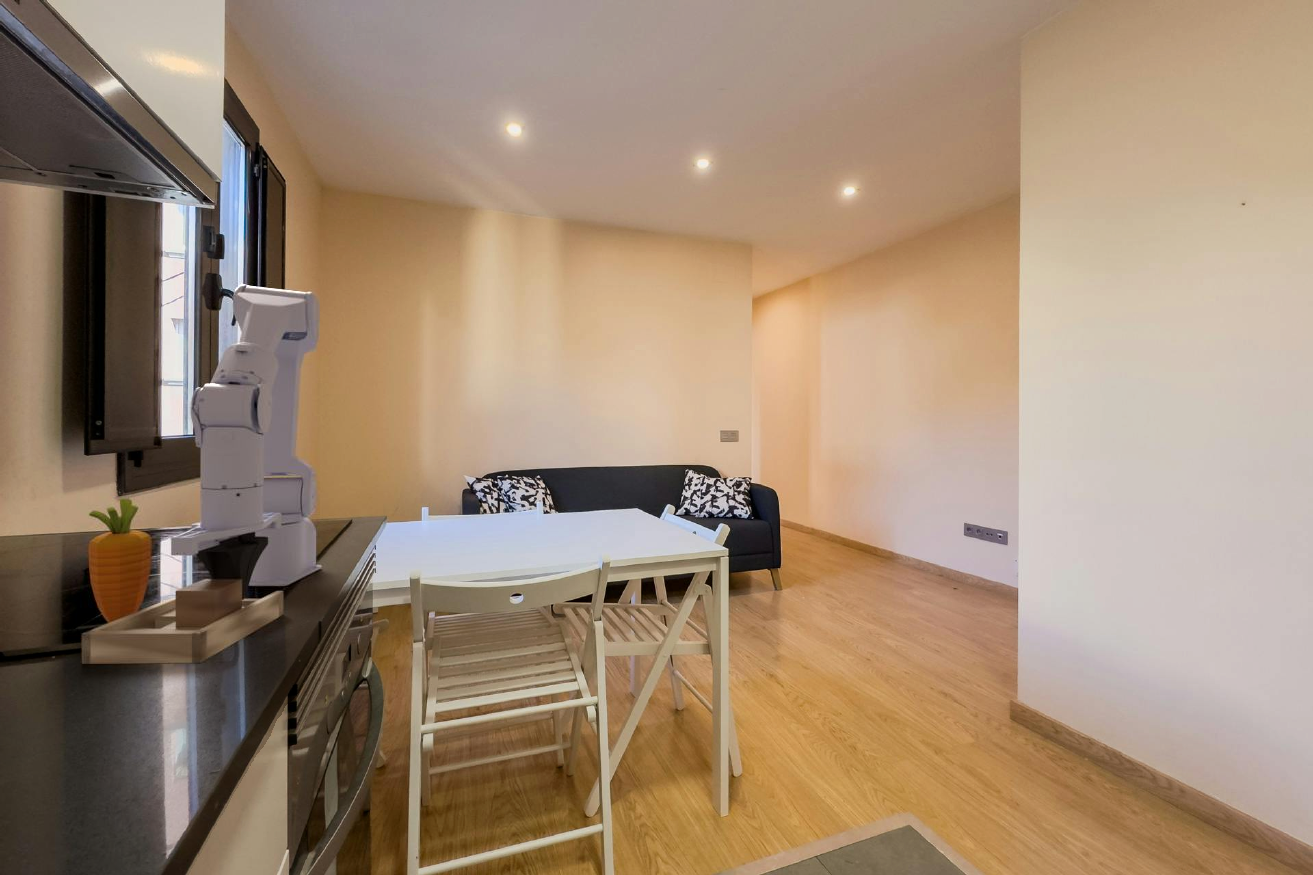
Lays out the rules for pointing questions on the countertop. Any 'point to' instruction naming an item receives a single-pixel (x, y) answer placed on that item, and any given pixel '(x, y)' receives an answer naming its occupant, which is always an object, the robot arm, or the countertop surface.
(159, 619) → the tray box
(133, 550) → the carrot
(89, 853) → the countertop surface
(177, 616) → the block
